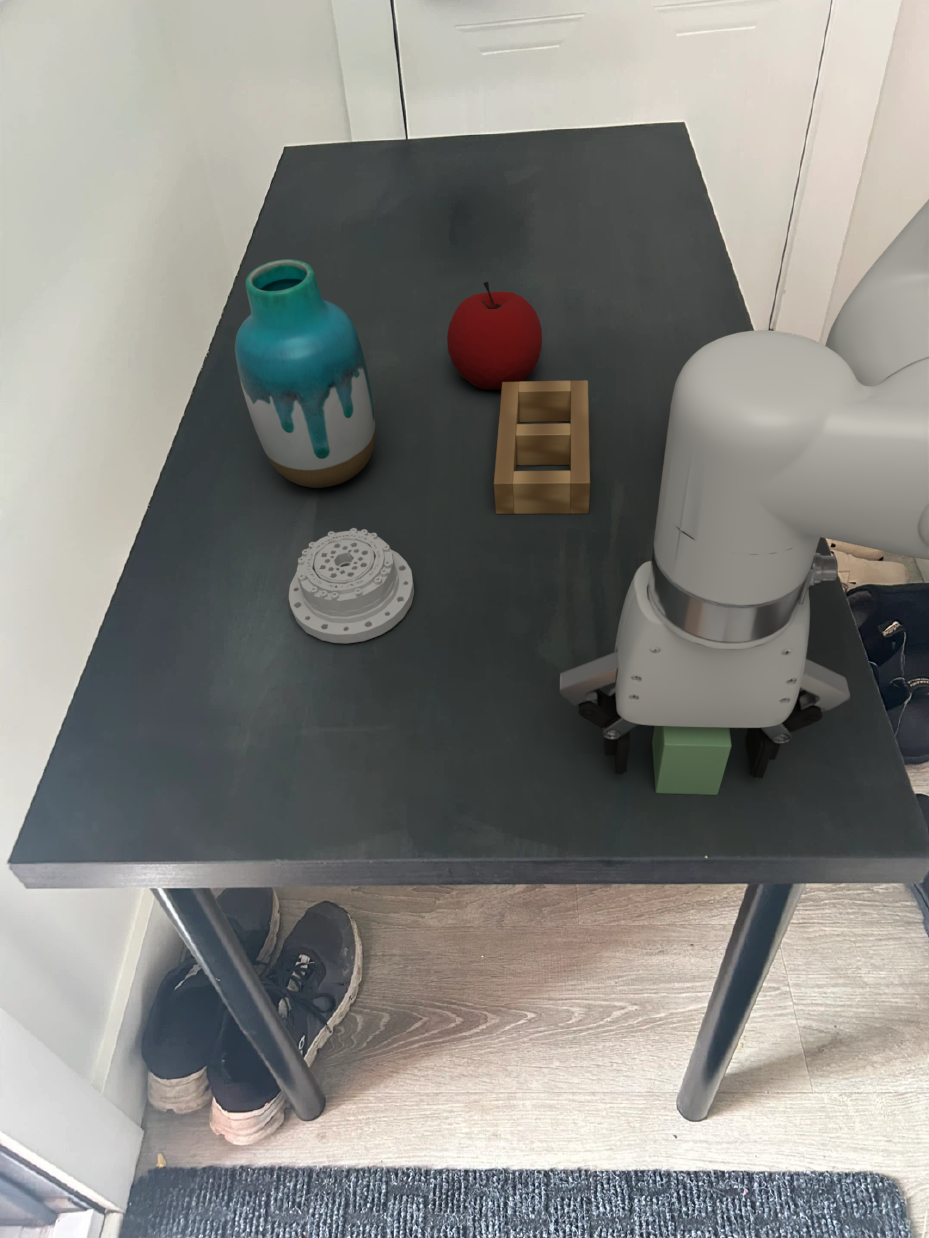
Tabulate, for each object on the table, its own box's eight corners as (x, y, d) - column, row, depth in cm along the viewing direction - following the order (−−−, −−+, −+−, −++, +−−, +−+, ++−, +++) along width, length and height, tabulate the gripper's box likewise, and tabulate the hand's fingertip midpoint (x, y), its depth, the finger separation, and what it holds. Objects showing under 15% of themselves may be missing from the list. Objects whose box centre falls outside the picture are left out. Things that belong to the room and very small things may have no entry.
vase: (359, 515, 78) (314, 319, 63) (252, 498, 80) (185, 306, 66) (400, 440, 84) (367, 246, 70) (299, 427, 87) (247, 237, 72)
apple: (449, 406, 87) (439, 314, 80) (453, 354, 93) (444, 264, 85) (543, 402, 86) (542, 309, 79) (541, 350, 92) (540, 258, 85)
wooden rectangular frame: (586, 411, 85) (587, 380, 82) (588, 513, 76) (590, 482, 73) (503, 412, 86) (502, 381, 83) (495, 514, 77) (493, 483, 74)
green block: (711, 743, 60) (724, 691, 56) (717, 795, 58) (731, 746, 53) (652, 741, 61) (660, 690, 56) (655, 793, 58) (664, 744, 54)
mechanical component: (328, 543, 76) (269, 627, 70) (317, 504, 73) (255, 590, 67) (434, 569, 73) (382, 659, 67) (428, 530, 70) (373, 622, 64)
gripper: (887, 523, 46) (812, 712, 60) (554, 523, 48) (553, 706, 61) (924, 634, 41) (834, 812, 55) (552, 630, 43) (552, 803, 57)
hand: (685, 756), depth 58 cm, fingers open, 8 cm apart
